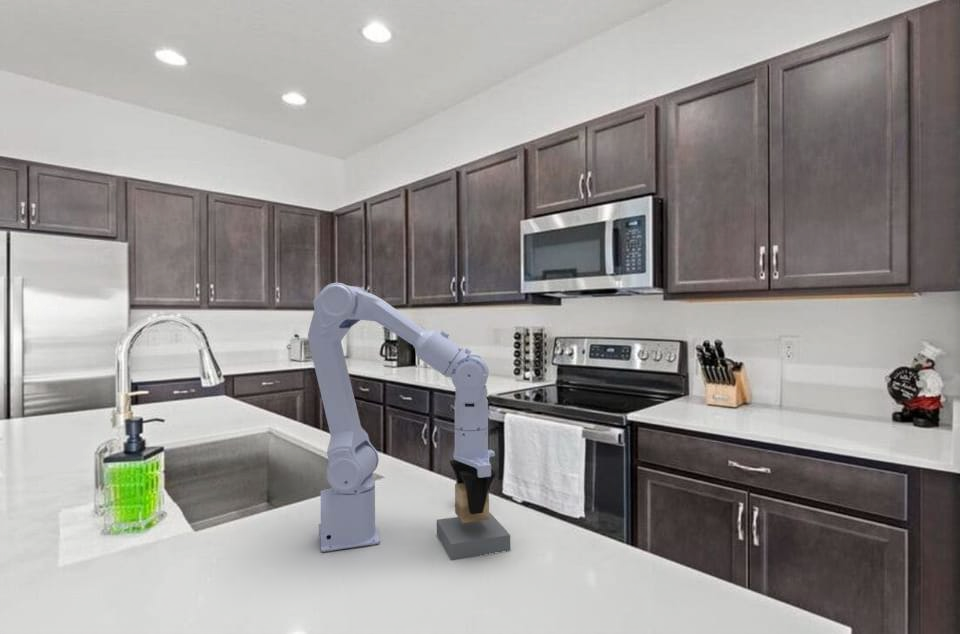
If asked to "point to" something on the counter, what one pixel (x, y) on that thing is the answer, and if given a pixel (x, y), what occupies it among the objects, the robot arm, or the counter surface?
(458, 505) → the oak block
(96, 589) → the counter surface
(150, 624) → the counter surface
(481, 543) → the charcoal base
